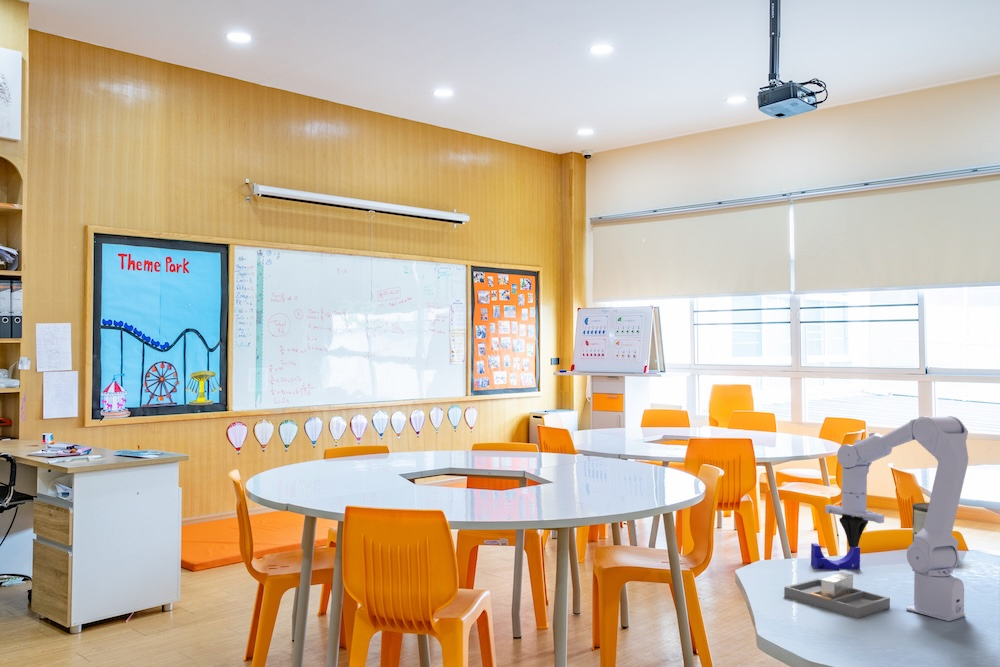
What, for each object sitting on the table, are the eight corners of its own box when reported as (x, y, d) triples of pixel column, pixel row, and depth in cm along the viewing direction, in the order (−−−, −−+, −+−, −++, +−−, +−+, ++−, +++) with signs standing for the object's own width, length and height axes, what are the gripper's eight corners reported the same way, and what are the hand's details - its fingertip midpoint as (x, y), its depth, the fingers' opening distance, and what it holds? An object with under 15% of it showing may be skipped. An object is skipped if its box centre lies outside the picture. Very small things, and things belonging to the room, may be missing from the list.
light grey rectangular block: (852, 594, 186) (853, 575, 186) (834, 602, 179) (834, 582, 179) (840, 591, 188) (840, 572, 188) (821, 599, 182) (821, 579, 182)
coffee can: (906, 548, 239) (906, 502, 239) (942, 550, 237) (943, 503, 238) (919, 557, 228) (920, 508, 229) (957, 559, 227) (958, 510, 227)
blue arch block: (816, 569, 212) (817, 547, 213) (810, 565, 217) (811, 543, 217) (862, 571, 212) (862, 549, 212) (855, 566, 216) (855, 545, 216)
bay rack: (889, 607, 180) (889, 597, 180) (857, 618, 172) (857, 607, 172) (817, 587, 195) (817, 577, 195) (784, 596, 187) (784, 586, 187)
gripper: (890, 495, 196) (890, 550, 195) (836, 486, 207) (835, 538, 207) (875, 498, 191) (875, 554, 191) (820, 489, 203) (820, 542, 203)
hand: (853, 546), depth 199 cm, fingers closed
